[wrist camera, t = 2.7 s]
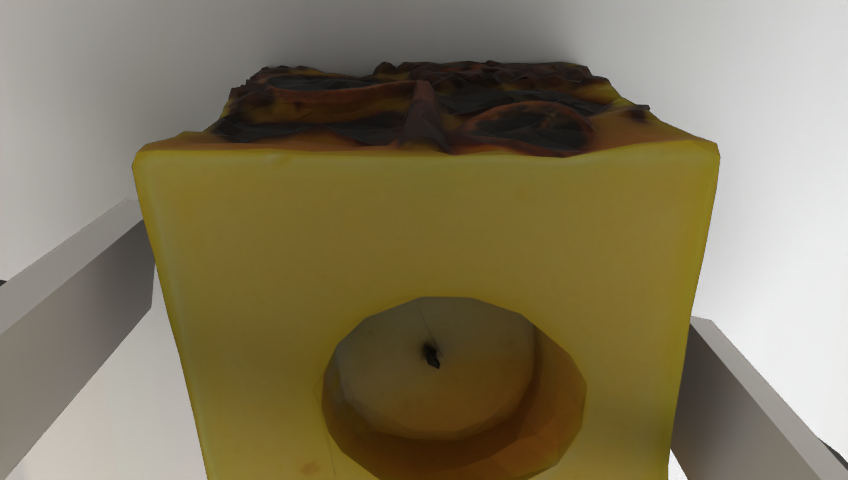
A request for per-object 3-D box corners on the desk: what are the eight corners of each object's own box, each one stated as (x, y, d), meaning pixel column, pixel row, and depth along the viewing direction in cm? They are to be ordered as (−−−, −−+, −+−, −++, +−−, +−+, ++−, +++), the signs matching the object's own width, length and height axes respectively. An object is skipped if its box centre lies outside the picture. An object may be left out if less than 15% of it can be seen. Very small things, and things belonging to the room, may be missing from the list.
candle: (258, 64, 19) (104, 135, 10) (587, 54, 19) (740, 117, 10) (293, 349, 23) (206, 592, 14) (568, 342, 23) (665, 583, 14)
